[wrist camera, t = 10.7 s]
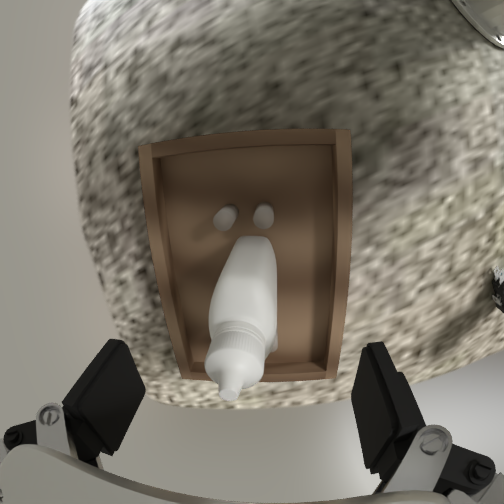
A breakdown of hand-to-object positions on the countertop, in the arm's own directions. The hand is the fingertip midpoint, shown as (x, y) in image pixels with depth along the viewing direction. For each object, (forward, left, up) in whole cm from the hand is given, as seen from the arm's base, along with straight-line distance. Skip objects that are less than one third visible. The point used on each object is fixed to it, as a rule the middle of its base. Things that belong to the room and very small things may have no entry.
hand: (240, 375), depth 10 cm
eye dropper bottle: (0, 0, -11) cm, 11 cm away
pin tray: (0, 0, -13) cm, 13 cm away
